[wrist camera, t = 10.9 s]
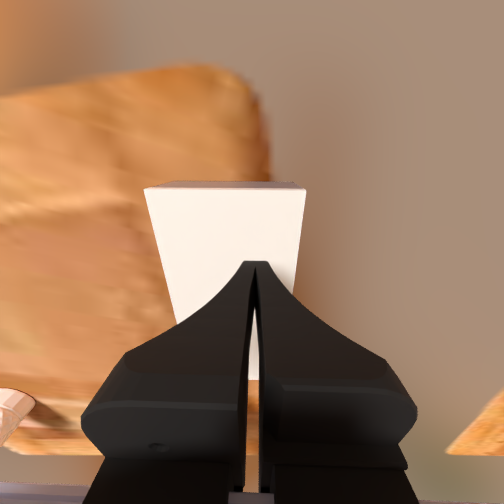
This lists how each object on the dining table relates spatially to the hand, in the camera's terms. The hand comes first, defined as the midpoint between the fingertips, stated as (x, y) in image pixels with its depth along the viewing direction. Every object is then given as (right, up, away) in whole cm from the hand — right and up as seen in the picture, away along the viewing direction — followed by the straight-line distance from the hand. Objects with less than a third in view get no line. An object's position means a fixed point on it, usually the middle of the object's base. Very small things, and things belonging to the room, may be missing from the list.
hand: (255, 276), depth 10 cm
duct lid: (-2, -3, +6) cm, 8 cm away
